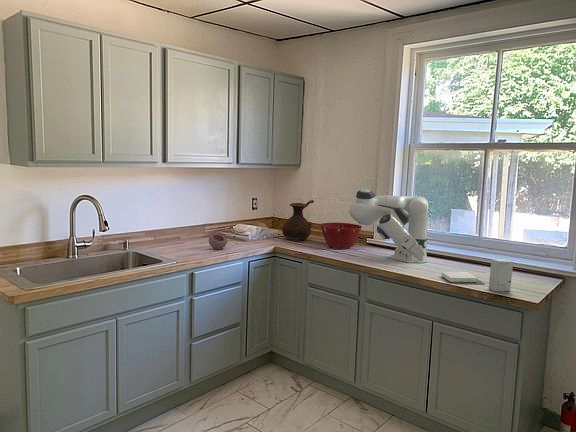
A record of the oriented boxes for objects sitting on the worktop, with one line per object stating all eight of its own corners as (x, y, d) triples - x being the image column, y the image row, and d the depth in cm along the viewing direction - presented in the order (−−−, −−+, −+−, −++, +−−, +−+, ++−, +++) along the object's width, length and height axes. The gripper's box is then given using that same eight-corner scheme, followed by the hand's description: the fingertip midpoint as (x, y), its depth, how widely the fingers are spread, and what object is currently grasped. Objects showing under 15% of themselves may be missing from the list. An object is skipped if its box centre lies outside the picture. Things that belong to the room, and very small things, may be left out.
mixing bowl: (340, 241, 338) (341, 221, 336) (369, 248, 316) (370, 226, 314) (311, 245, 321) (312, 223, 319) (339, 253, 299) (340, 229, 297)
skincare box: (495, 291, 221) (498, 261, 219) (487, 288, 227) (490, 258, 225) (511, 291, 223) (513, 261, 221) (503, 287, 229) (505, 258, 227)
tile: (450, 277, 234) (477, 278, 235) (441, 271, 246) (467, 272, 247) (450, 282, 234) (477, 282, 235) (441, 276, 246) (466, 276, 247)
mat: (456, 284, 233) (456, 283, 233) (443, 275, 249) (443, 275, 248) (485, 284, 234) (485, 283, 234) (471, 276, 249) (471, 275, 249)
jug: (296, 243, 327) (297, 201, 323) (276, 238, 342) (277, 198, 338) (317, 240, 341) (318, 200, 337) (297, 236, 357) (298, 197, 353)
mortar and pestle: (217, 251, 292) (217, 234, 290) (204, 249, 299) (204, 231, 297) (231, 249, 301) (231, 231, 300) (218, 246, 308) (218, 229, 307)
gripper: (392, 242, 246) (409, 260, 248) (406, 248, 226) (424, 268, 228) (401, 234, 247) (417, 252, 249) (416, 239, 226) (433, 259, 228)
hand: (421, 260), depth 238 cm, fingers closed
